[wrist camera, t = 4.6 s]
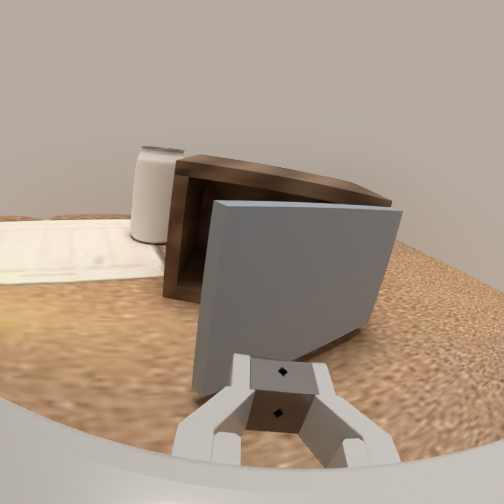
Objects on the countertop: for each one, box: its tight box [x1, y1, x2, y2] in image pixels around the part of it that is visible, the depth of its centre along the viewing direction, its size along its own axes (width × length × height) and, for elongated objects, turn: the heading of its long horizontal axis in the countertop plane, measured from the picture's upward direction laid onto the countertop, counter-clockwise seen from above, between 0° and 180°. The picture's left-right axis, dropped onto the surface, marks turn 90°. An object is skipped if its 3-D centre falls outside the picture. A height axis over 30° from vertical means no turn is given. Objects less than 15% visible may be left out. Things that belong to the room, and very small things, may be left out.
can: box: [131, 146, 184, 244], centre depth 41 cm, size 6×6×12 cm
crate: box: [163, 155, 392, 303], centre depth 32 cm, size 18×12×12 cm, turn 90°
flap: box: [192, 200, 403, 398], centre depth 21 cm, size 18×1×10 cm, turn 130°
